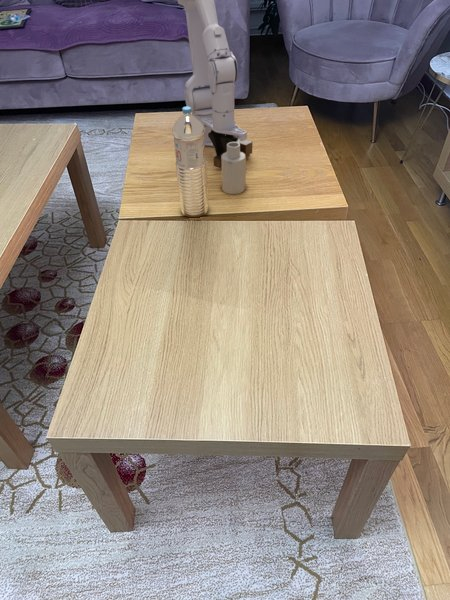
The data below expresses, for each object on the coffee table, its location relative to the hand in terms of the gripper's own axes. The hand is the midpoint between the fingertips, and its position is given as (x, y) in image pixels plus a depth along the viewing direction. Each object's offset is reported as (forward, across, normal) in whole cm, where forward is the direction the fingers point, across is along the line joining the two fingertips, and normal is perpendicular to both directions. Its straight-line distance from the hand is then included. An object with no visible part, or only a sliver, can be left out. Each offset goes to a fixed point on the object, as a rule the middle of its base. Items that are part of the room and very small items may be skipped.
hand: (224, 158), depth 125 cm
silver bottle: (+2, -10, +8) cm, 13 cm away
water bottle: (+3, -9, +22) cm, 24 cm away
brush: (+1, 0, -3) cm, 3 cm away
